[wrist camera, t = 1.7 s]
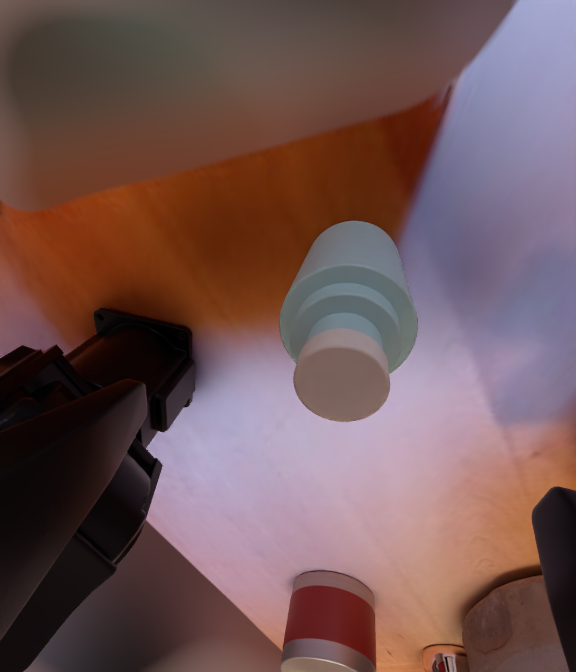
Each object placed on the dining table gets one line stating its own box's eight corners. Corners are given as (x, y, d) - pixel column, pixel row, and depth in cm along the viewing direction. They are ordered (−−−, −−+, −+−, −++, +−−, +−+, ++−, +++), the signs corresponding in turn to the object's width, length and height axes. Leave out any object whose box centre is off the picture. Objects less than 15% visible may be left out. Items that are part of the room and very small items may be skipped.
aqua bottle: (299, 299, 19) (247, 428, 11) (315, 211, 17) (263, 286, 8) (384, 317, 19) (401, 467, 10) (412, 230, 17) (466, 329, 8)
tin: (287, 600, 37) (274, 681, 31) (299, 561, 33) (286, 647, 27) (362, 622, 36) (362, 710, 30) (384, 585, 32) (389, 679, 26)
